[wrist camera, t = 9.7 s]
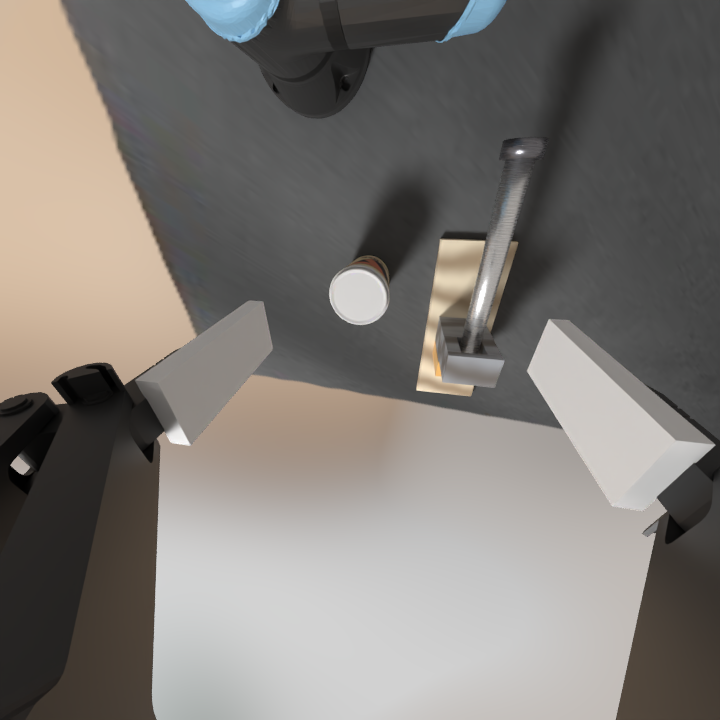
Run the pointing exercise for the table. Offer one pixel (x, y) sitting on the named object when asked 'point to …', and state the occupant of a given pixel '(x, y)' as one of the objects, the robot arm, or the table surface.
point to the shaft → (500, 233)
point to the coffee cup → (361, 290)
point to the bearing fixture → (459, 322)
